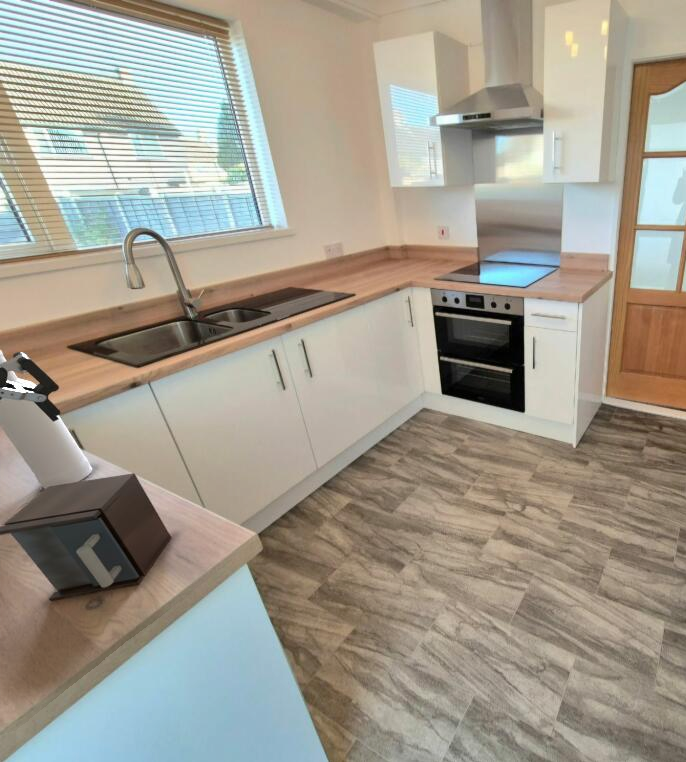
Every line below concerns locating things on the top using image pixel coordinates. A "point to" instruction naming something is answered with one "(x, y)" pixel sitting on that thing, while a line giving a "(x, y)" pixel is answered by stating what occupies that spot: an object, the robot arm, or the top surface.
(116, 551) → the glass door
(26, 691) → the top surface
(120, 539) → the walnut cabinet
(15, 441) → the bottle
